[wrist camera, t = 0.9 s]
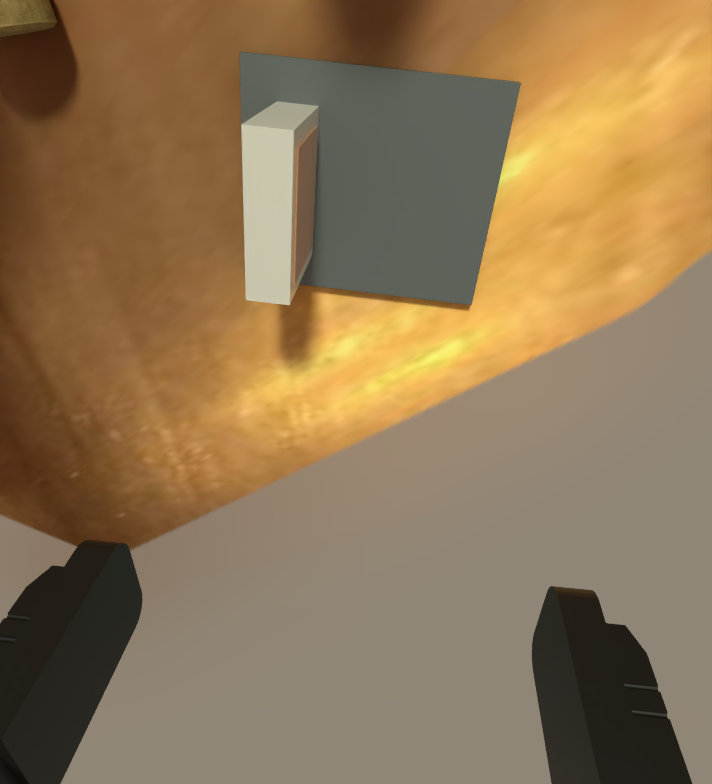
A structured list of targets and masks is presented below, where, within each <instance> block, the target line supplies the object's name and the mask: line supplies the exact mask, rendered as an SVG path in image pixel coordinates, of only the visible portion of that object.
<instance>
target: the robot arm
mask: <svg viewBox="0 0 712 784" xmlns="http://www.w3.org/2000/svg"><path fill="white" fill-rule="evenodd" d="M141 608H142V591H141V588H140V584H139V581H138V578H137V574H136V570H135V567H134V564H133V560H132V557H131V553H130V550H129V547H128V546H127V545H126V544H124V543H116V542H105V541H95V540H85V541H83V542H82V543H81V544H80V545H79V546H78V547H77V548H76V550H75V551H74V553H73V554H72V556H71V557H70V559H69V560H68V562H67V563H66V565H65V566H64V567H60V566H51V567H50V568H49V569H48V570H47V571H45V572H44V573H43V574H42V575H40V576H39V577H38V578H37V579H36V580H34V581H33V582H32V583H31V584H29V585H28V586H27V587H26V588H25V590H24V591H23V593H22V594H21V595H20V597H19V598H18V599H17V601H16V602H15V604H14V605H13V606H12V608H11V609H10V611H9V612H8V616H7V618H6V619H5V618H4V619H3V621H2V622H1V623H0V784H60V783H61V781H62V779H63V777H64V775H65V773H66V771H67V769H68V767H69V765H70V763H71V761H72V758H73V756H74V754H75V752H76V750H77V748H78V746H79V744H80V742H81V740H82V738H83V736H84V734H85V731H86V729H87V727H88V725H89V723H90V721H91V719H92V717H93V715H94V713H95V710H96V709H97V706H98V704H99V702H100V700H101V698H102V696H103V694H104V692H105V690H106V687H107V686H108V684H109V682H110V679H111V677H112V675H113V673H114V671H115V669H116V667H117V665H118V663H119V661H120V659H121V657H122V654H123V652H124V650H125V648H126V646H127V644H128V642H129V640H130V638H131V636H132V634H133V631H134V630H135V628H136V625H137V623H138V620H139V617H140V612H141ZM532 664H533V673H534V679H535V685H536V691H537V697H538V703H539V710H540V716H541V722H542V728H543V733H544V740H545V746H546V752H547V758H548V764H549V770H550V776H551V782H552V784H692V782H691V779H690V776H689V773H688V770H687V767H686V764H685V761H684V759H683V756H682V753H681V750H680V748H679V744H678V741H677V738H676V736H675V733H674V730H673V727H672V724H671V721H670V719H668V718H667V710H666V707H665V704H664V701H663V699H662V695H661V693H660V692H659V691H658V684H657V681H656V678H655V675H654V673H653V670H652V667H651V664H650V661H649V658H648V656H647V653H646V652H645V651H644V649H643V648H642V647H641V645H640V644H639V643H638V641H637V640H636V639H635V637H634V636H633V635H632V634H631V632H630V631H629V630H628V628H627V627H626V626H625V625H618V624H617V625H616V624H608V623H606V622H605V619H604V616H603V613H602V609H601V606H600V602H599V600H598V597H597V595H596V593H595V592H594V591H592V590H584V589H574V588H563V587H553V586H551V587H550V588H549V589H548V591H547V594H546V597H545V600H544V603H543V607H542V610H541V613H540V616H539V619H538V622H537V626H536V629H535V632H534V636H533V643H532Z"/></svg>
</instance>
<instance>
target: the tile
mask: <svg viewBox="0 0 712 784" xmlns="http://www.w3.org/2000/svg"><path fill="white" fill-rule="evenodd" d="M318 119H319V106H314V105H305V104H296V103H287V102H278V101H277V102H275V103H274V104H272V105H271V106H269V107H268V108H266V109H265V110H263V111H261V112H260V113H258V114H257V115H255V116H254V117H252V118H251V119H249V120H248V121H246V122H245V123H243V124H242V164H243V204H244V244H245V284H246V300H251V301H259V302H267V303H275V304H283V305H290V304H291V301H292V299H293V297H294V295H295V292H296V290H297V288H298V286H299V283H300V281H301V279H302V277H303V274H304V272H305V270H306V268H307V265H308V263H309V261H310V259H311V256H312V252H313V230H314V207H315V185H316V163H317V141H318Z"/></svg>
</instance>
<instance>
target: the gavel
mask: <svg viewBox="0 0 712 784" xmlns="http://www.w3.org/2000/svg"><path fill="white" fill-rule="evenodd" d="M56 23H57V20H56V17H55V14H54V12H53V9H52V6H51V3H50V0H0V37H6V36H13V35H20V34H25V33H31V32H36V31H41V30H46V29H50V28H53V27H54V26H55V24H56Z"/></svg>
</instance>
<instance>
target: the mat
mask: <svg viewBox="0 0 712 784" xmlns="http://www.w3.org/2000/svg"><path fill="white" fill-rule="evenodd" d="M520 85H521V83H520V82H514V81H505V80H496V79H487V78H477V77H468V76H459V75H450V74H441V73H432V72H422V71H413V70H404V69H395V68H386V67H377V66H367V65H358V64H349V63H340V62H331V61H322V60H312V59H303V58H294V57H285V56H276V55H267V54H257V53H248V52H240V86H241V126H242V124H243V123H245V122H246V121H248V120H249V119H251V118H252V117H254V116H255V115H257V114H258V113H260V112H261V111H263V110H265V109H266V108H268V107H269V106H271V105H272V104H274V103H275V102H277V101H278V102H287V103H296V104H305V105H314V106H319V119H318V141H317V163H316V185H315V207H314V230H313V252H312V256H311V259H310V261H309V263H308V265H307V268H306V270H305V272H304V274H303V277H302V279H301V281H300V283H299V284H302V285H310V286H319V287H327V288H335V289H343V290H351V291H360V292H368V293H376V294H384V295H393V296H401V297H409V298H417V299H426V300H434V301H442V302H450V303H459V304H467V305H472V301H473V296H474V292H475V287H476V283H477V278H478V274H479V269H480V265H481V260H482V256H483V251H484V247H485V242H486V238H487V233H488V229H489V224H490V220H491V215H492V211H493V206H494V202H495V197H496V193H497V188H498V184H499V179H500V175H501V170H502V166H503V161H504V157H505V152H506V148H507V143H508V139H509V134H510V130H511V125H512V121H513V116H514V112H515V107H516V103H517V98H518V94H519V89H520ZM242 166H243V164H242ZM243 206H244V204H243ZM244 246H245V244H244Z"/></svg>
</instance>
